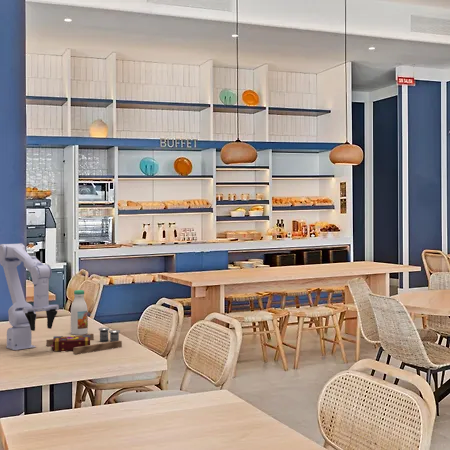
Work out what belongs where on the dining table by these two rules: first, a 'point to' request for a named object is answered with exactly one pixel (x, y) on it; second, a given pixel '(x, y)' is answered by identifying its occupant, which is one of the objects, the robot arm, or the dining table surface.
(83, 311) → the milk bottle
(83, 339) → the decorative book
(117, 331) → the boss posts
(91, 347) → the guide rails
